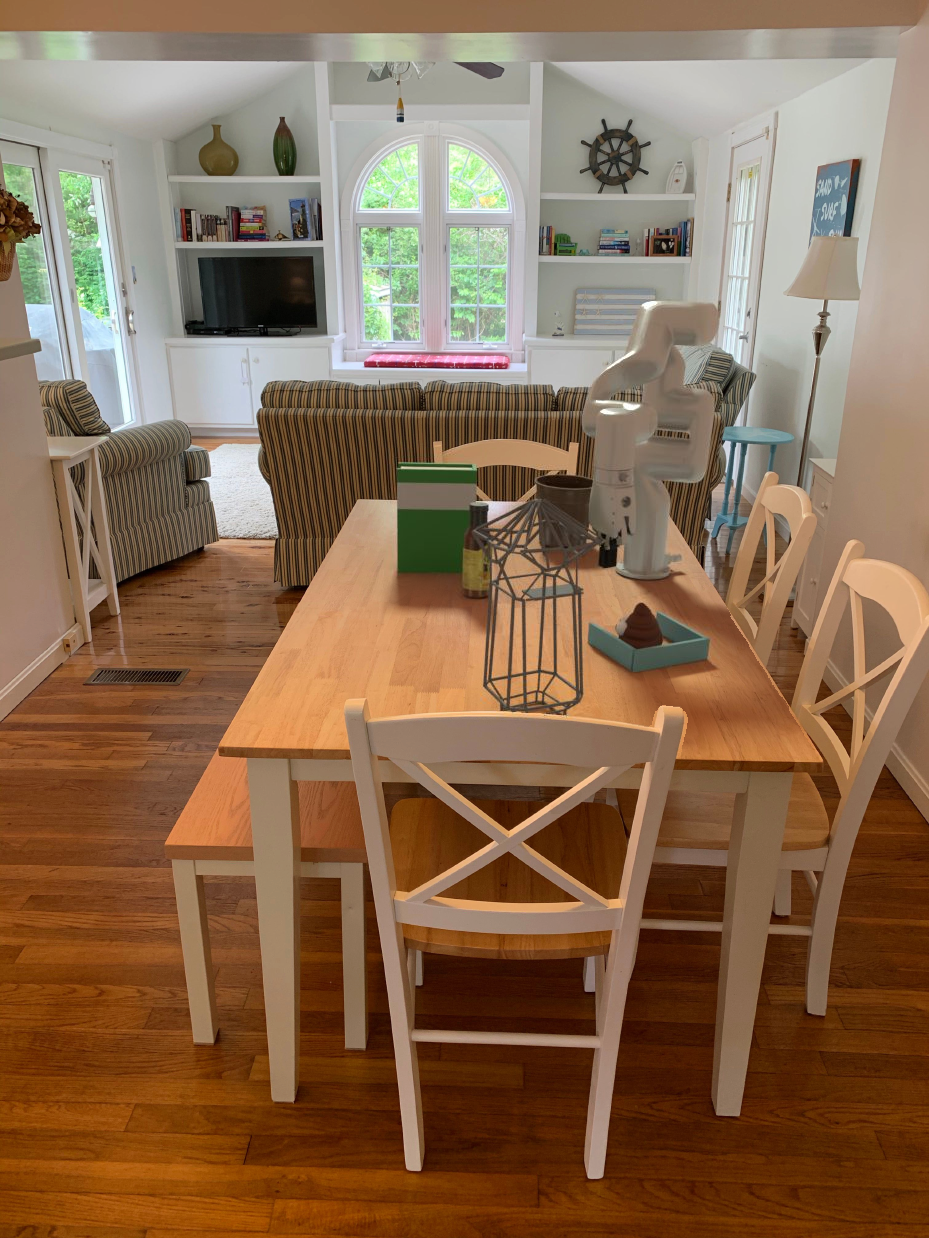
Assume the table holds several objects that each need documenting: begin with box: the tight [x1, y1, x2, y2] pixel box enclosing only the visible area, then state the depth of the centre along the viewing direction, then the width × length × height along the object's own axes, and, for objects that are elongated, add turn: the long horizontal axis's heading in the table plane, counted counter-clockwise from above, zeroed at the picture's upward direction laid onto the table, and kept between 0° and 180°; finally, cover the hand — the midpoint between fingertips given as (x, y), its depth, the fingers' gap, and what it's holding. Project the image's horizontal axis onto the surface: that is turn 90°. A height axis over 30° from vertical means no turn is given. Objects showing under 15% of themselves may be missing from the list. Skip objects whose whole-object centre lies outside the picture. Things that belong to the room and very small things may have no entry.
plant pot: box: [534, 474, 593, 548], centre depth 238 cm, size 16×16×16 cm
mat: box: [521, 583, 584, 598], centre depth 204 cm, size 12×6×1 cm, turn 115°
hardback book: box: [396, 461, 478, 575], centre depth 214 cm, size 18×7×24 cm, turn 91°
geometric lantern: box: [471, 497, 606, 716], centre depth 142 cm, size 16×16×35 cm
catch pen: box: [587, 611, 711, 673], centre depth 173 cm, size 16×15×4 cm
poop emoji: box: [614, 602, 664, 649], centre depth 174 cm, size 10×8×9 cm
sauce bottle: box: [461, 501, 494, 599], centre depth 198 cm, size 7×6×20 cm
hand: (607, 566), depth 184 cm, fingers closed
